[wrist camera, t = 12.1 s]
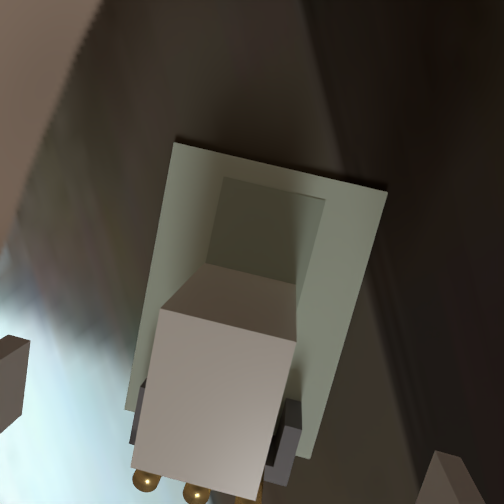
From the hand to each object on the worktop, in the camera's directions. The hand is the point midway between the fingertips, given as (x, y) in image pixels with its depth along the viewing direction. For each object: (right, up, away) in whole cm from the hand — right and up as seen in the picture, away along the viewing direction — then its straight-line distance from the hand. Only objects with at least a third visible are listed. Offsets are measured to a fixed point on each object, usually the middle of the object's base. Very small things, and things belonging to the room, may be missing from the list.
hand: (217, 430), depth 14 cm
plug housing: (0, +2, +8) cm, 8 cm away
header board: (+1, +3, +8) cm, 8 cm away
